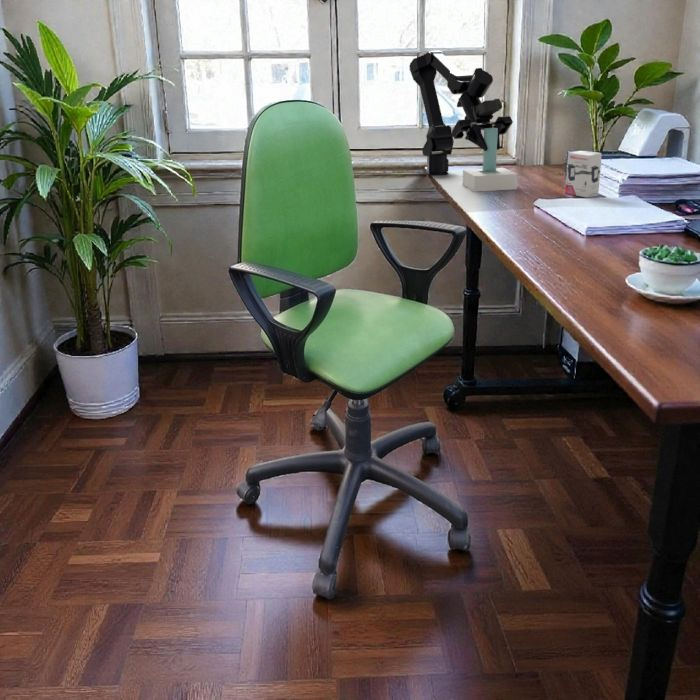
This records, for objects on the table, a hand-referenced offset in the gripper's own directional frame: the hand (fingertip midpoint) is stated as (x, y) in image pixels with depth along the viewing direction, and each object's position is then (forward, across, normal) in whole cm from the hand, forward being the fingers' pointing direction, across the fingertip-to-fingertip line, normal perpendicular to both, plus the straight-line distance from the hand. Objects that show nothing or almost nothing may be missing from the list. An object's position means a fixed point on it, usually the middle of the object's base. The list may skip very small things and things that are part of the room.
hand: (492, 149), depth 227 cm
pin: (+4, 0, +6) cm, 7 cm away
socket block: (+7, 0, +9) cm, 11 cm away
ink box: (+25, +14, -9) cm, 30 cm away
